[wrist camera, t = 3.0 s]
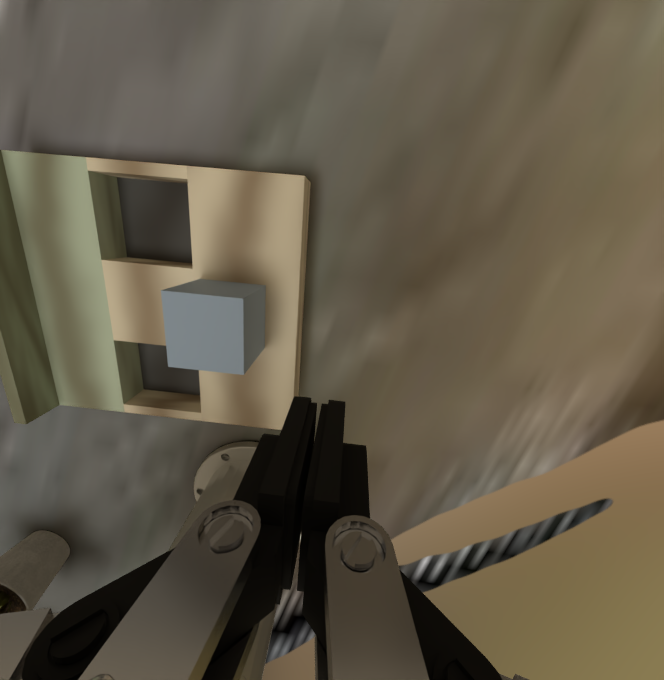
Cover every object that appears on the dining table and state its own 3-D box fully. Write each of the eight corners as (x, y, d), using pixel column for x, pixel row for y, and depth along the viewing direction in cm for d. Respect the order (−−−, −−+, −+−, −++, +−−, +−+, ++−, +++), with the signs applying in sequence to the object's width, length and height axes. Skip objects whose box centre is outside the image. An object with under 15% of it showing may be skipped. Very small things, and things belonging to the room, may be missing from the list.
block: (265, 285, 23) (243, 298, 19) (264, 348, 25) (243, 375, 20) (199, 278, 23) (160, 290, 19) (203, 341, 25) (168, 366, 20)
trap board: (310, 182, 24) (296, 166, 18) (297, 412, 30) (284, 454, 24) (29, 158, 24) (-69, 136, 19) (76, 387, 31) (14, 422, 25)
